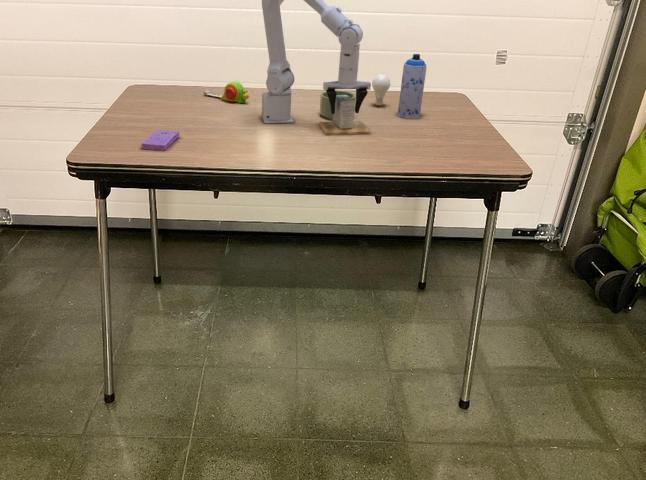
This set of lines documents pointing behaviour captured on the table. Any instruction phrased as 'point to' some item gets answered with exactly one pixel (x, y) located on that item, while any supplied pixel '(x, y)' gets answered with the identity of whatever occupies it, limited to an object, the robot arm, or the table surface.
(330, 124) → the board
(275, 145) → the table surface
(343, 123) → the medicine box
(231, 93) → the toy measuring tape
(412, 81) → the aerosol can
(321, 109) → the pot
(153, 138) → the sponge
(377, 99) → the lightbulb
